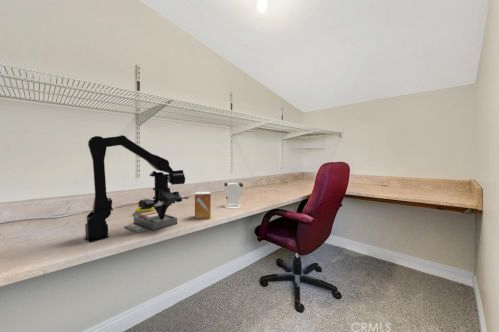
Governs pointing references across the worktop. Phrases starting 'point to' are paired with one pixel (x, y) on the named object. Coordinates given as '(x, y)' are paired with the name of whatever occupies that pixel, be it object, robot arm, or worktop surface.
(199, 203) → the small box
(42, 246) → the worktop surface
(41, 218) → the worktop surface
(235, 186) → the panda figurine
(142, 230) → the card
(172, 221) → the keypad housing
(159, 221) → the sage key
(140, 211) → the emergency button
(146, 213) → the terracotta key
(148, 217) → the offwhite key
